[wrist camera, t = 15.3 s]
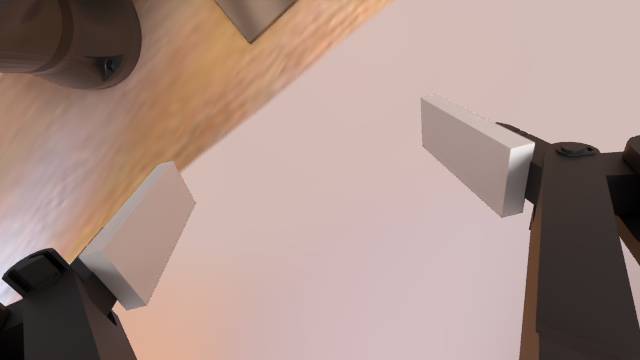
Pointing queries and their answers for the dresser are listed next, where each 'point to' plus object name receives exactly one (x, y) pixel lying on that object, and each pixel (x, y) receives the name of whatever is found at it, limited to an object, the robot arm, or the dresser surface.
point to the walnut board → (254, 14)
